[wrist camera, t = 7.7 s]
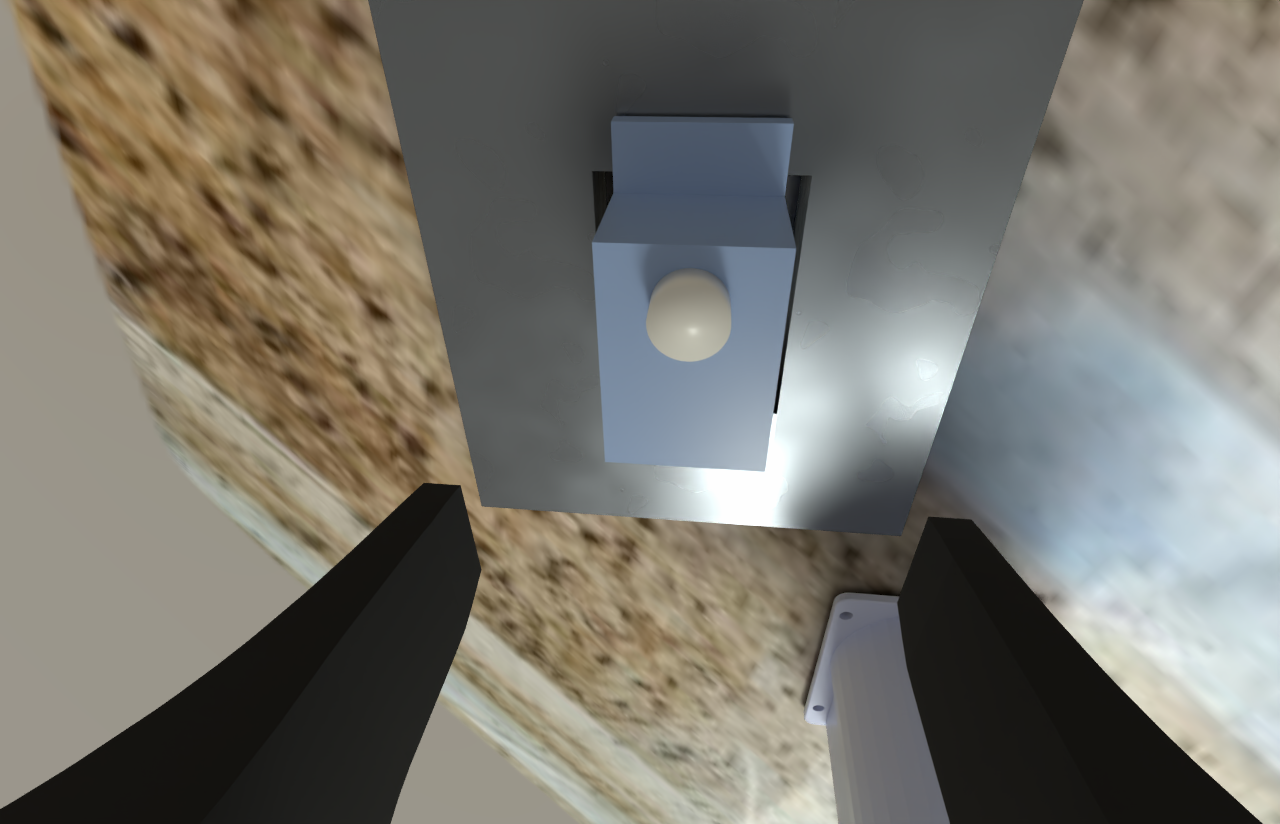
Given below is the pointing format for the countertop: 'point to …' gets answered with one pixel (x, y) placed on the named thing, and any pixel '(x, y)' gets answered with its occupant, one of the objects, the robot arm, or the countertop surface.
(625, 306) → the servo
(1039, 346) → the countertop surface
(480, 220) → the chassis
